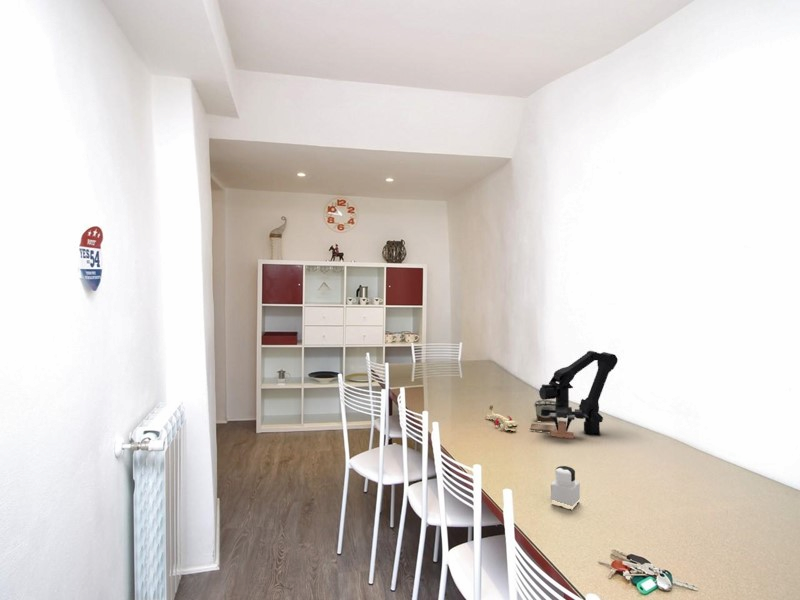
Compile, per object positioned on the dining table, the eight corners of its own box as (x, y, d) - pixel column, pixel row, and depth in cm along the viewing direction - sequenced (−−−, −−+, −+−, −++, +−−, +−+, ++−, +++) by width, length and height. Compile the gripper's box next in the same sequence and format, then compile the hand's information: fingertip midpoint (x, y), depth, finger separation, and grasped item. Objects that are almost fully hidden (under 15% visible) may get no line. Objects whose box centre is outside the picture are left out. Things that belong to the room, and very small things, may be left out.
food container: (556, 418, 247) (556, 399, 247) (559, 422, 241) (558, 402, 241) (532, 418, 249) (532, 399, 248) (534, 422, 242) (534, 402, 242)
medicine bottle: (558, 496, 162) (558, 462, 161) (580, 502, 157) (579, 467, 157) (550, 504, 156) (550, 469, 156) (572, 511, 152) (572, 474, 151)
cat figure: (482, 422, 249) (505, 433, 225) (481, 405, 249) (504, 415, 225) (499, 420, 251) (523, 431, 227) (498, 403, 252) (522, 412, 228)
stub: (573, 435, 221) (573, 421, 221) (573, 438, 217) (573, 424, 217) (551, 433, 225) (551, 419, 224) (550, 436, 220) (550, 422, 220)
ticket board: (566, 429, 230) (566, 426, 230) (566, 434, 223) (566, 431, 223) (530, 426, 236) (530, 423, 236) (529, 431, 228) (529, 428, 228)
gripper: (540, 400, 216) (540, 434, 216) (584, 403, 209) (584, 438, 210) (541, 394, 226) (541, 426, 227) (583, 397, 219) (583, 430, 220)
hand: (562, 430), depth 221 cm, fingers closed on stub, 3 cm apart
